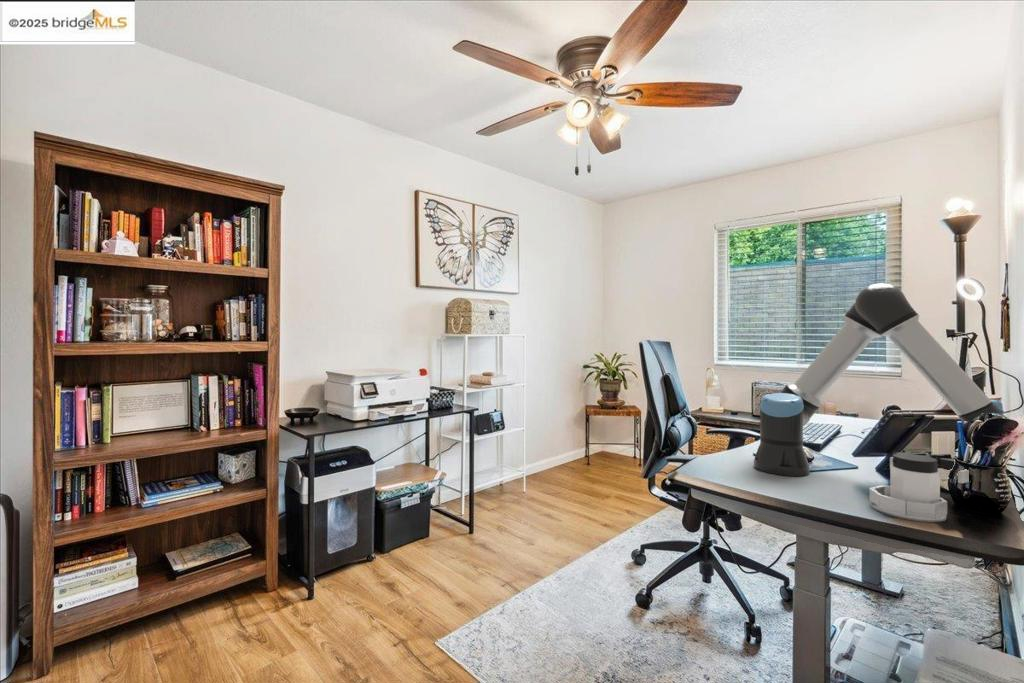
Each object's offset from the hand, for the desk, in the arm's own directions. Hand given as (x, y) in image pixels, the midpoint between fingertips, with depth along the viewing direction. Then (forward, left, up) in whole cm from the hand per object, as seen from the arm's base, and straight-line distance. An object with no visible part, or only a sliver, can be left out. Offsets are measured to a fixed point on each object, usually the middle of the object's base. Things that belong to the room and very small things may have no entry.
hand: (923, 469), depth 114 cm
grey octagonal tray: (0, -7, -9) cm, 12 cm away
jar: (+1, -6, -8) cm, 11 cm away
